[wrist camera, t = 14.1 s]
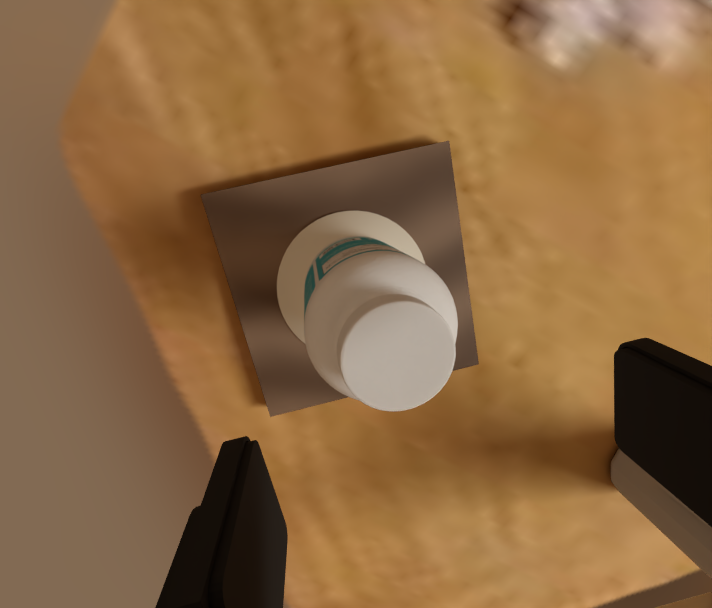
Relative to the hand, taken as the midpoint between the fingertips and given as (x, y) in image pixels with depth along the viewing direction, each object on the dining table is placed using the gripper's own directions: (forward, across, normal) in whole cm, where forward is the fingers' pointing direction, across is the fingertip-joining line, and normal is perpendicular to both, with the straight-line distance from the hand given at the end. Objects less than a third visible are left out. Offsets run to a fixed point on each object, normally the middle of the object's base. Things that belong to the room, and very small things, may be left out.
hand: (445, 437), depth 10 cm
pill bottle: (+19, 0, +1) cm, 19 cm away
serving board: (+21, 0, +1) cm, 21 cm away
